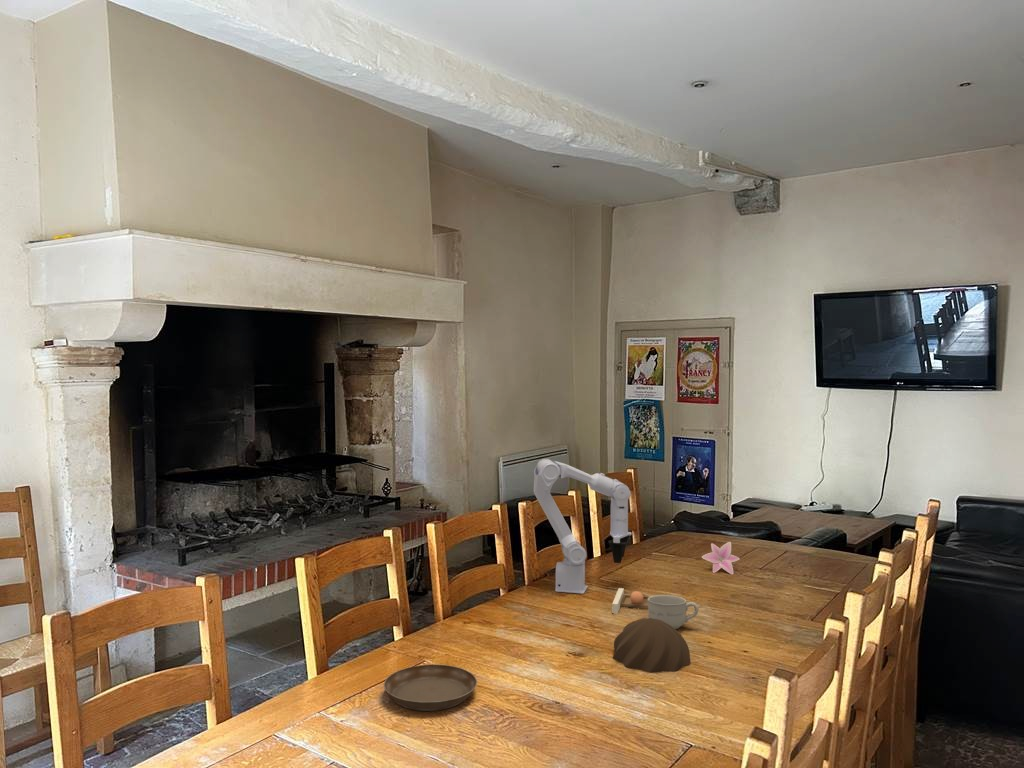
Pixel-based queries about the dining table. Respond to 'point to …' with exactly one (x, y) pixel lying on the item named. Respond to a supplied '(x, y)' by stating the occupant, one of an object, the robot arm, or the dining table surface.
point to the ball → (636, 597)
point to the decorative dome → (651, 646)
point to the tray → (627, 603)
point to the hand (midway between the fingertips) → (618, 559)
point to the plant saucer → (430, 687)
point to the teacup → (670, 609)
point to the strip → (617, 600)
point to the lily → (721, 557)
